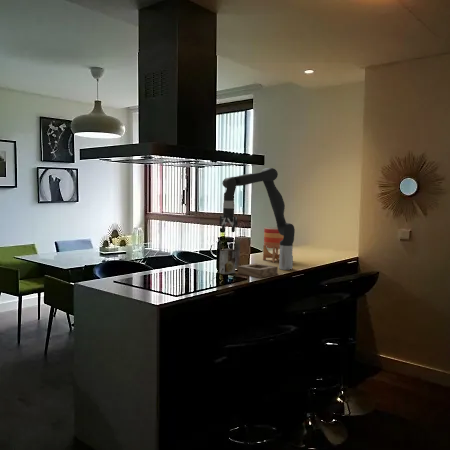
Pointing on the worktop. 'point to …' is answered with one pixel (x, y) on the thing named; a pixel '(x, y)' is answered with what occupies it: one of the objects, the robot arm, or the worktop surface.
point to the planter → (271, 242)
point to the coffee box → (227, 261)
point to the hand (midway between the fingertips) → (228, 231)
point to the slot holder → (257, 270)
